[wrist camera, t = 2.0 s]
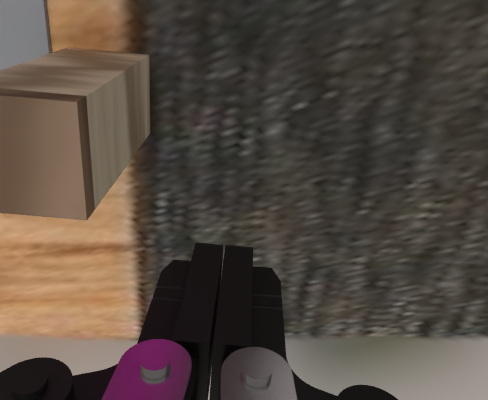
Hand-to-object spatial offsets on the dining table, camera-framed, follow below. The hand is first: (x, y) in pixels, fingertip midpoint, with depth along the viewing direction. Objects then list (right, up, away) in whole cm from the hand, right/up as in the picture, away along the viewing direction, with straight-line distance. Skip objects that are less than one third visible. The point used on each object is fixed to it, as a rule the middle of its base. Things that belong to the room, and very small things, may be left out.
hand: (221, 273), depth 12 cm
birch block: (-8, +9, +17) cm, 20 cm away
